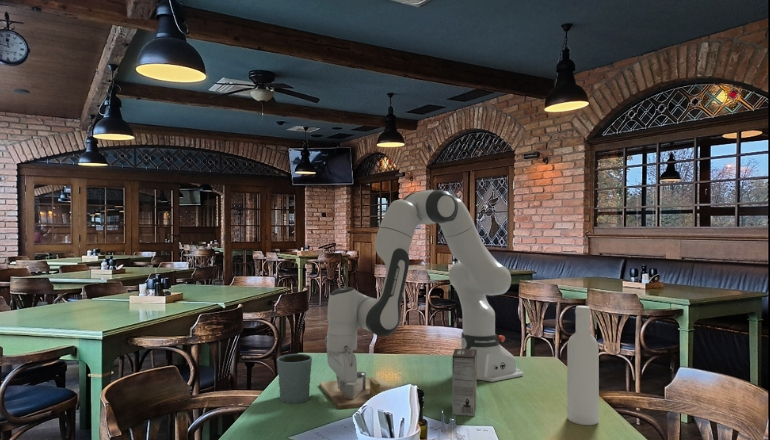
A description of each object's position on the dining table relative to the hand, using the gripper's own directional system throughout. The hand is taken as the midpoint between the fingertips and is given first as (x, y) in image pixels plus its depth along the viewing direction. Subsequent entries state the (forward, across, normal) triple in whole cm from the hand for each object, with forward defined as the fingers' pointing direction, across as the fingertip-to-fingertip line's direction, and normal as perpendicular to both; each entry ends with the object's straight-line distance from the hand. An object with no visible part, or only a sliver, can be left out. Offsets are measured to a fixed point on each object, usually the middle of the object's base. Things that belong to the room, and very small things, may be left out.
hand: (341, 390), depth 154 cm
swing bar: (+1, +1, -4) cm, 5 cm away
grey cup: (+3, +5, +13) cm, 14 cm away
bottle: (+3, -37, -56) cm, 67 cm away
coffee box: (+3, -20, -30) cm, 36 cm away
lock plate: (+3, +4, -7) cm, 8 cm away
